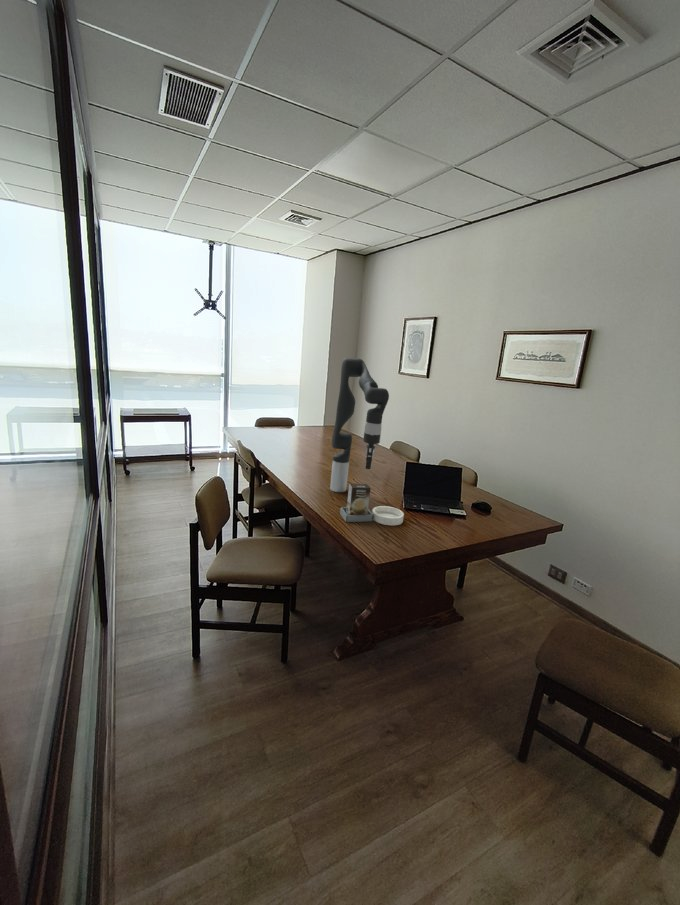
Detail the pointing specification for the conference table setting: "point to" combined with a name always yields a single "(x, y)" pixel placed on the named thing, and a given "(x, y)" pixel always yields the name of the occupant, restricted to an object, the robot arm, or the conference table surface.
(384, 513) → the bowl
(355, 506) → the coffee box
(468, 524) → the conference table surface
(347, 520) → the grey rectangular frame
